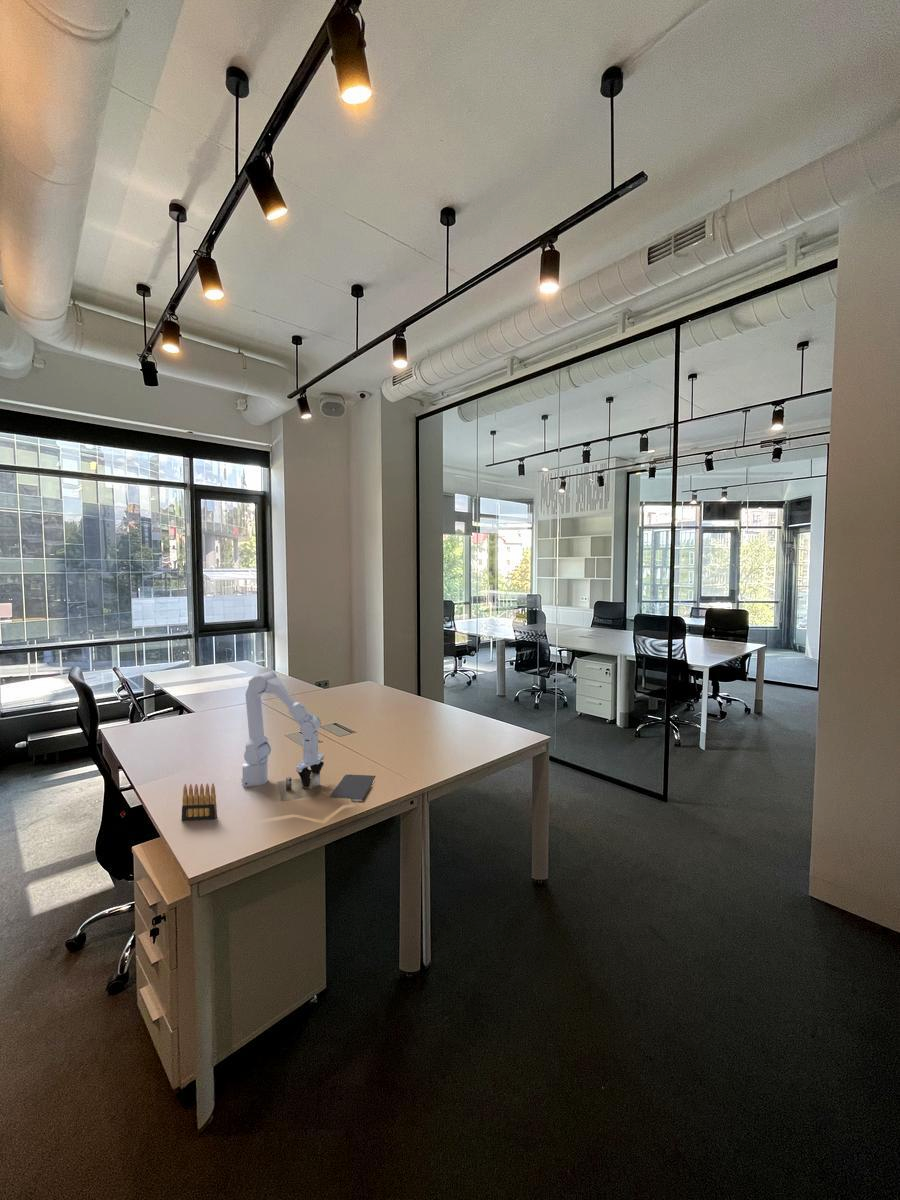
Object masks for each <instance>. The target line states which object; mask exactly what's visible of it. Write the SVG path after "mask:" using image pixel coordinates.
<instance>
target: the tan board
mask: <svg viewBox="0 0 900 1200" xmlns="http://www.w3.org/2000/svg"><path fill="white" fill-rule="evenodd" d="M277 787H278V793H279V798H280V802H286V801H292V800H297V799H304V798H309V797H315V796H322V795H324V791H323V789H322V786H321V783H320V784H319V785H318V786H316V787H314V788H313V789H309V788H304V787H301V777H299V778H295V779H293V778H292V789H291V790H289V791H287V790H286V780H281V781H277Z"/></svg>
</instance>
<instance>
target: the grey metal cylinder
mask: <svg viewBox="0 0 900 1200" xmlns="http://www.w3.org/2000/svg"><path fill="white" fill-rule="evenodd" d="M292 780H293V778H292V777H291V776H290V777H289V776H288V777H286V778H285V781H286V790H287V791H289V790H291V789H292Z"/></svg>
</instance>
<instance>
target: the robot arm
mask: <svg viewBox="0 0 900 1200" xmlns="http://www.w3.org/2000/svg"><path fill="white" fill-rule="evenodd" d="M264 694H273V695H275V696H276V697H277V698H278V699H279V700H280V701H281V702H282V703H283V704H284V705H285V706H286V707H287V708H288V714H289V715H290V716H291V717H292V719H293V720H294V721H295V722H296V723H297V724H298V726H299V731H300V732H301V734H302V760H301V761H300V763H299V764H298V765H297V766H295V771H296V773H298V775H299V778H301V780H302V784H303V787H309V780H310V775H311V772H313V773H318V774H320V775H321V770H322V769H323V767H324V765H325V763H324V760H325V754H323V753H319V729H320V728H321V725H322V723H321V720H320V718H319V716H316V715H313V714H312V713H310V711H309V710H308V709H307V707H306V705H305V703H302V702H299V701H296V700H295V699H294V698H293V696H292V694H290V692H289V691H288V690H287V689H286V687H285V686H284V685H283V684H282V680H281V679H280V677H279V676H278V675H277V674H276V673H275V672H273V671H272V670H271V671H266V672H264V673H261V674H257V675H255V676H253V677H252V678H250V679H249V680H248V686H247V689H246V692H245V703H246V716H247V727H248V728H247V729H248V736H249V737H248V740H247V742H246V745H245V751H244V753H243V754H244V755H243V758H244V761H245V762H244V763H242V777H241V783H242V788H243V787H244V788H246V787H251V786H253V787H256V786H261V785H264V784H266V783H268V782H269V781H268V780H269V779H268V777H269V776H268V775H269V774H268V771H269V769H268V768H269V767H268V766H269V765H268V762H269V761H268V759H269V756H270V754H271V752H272V747H271V745H270V743H269V738H268V737H267V736H265V729H264V718H263V708H262V707H263V706H262V696H263V695H264ZM309 767H310V769H309Z"/></svg>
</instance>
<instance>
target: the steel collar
mask: <svg viewBox="0 0 900 1200" xmlns="http://www.w3.org/2000/svg"><path fill="white" fill-rule="evenodd" d="M311 774H315V776H313V777H310V780H309V787H304V788H309V789H313V788H314V787H316V786H318V785H319V784H320V785H321V773H320V774H318V773H313V772H311ZM301 787H303V784H302V780H301Z"/></svg>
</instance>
